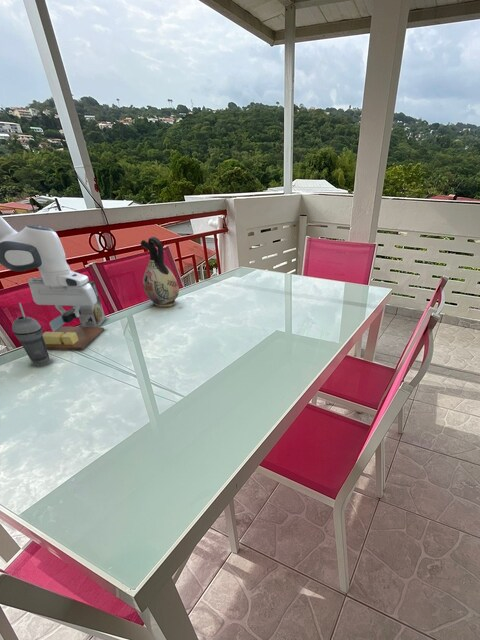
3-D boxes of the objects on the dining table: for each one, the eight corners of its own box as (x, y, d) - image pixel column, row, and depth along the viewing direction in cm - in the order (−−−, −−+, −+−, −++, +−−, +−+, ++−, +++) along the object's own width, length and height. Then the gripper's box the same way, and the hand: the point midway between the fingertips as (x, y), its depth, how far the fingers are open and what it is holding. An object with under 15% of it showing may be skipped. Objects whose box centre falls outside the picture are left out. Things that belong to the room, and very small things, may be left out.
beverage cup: (38, 357, 110) (12, 298, 99) (60, 358, 110) (36, 299, 99) (23, 367, 104) (-7, 306, 93) (46, 369, 104) (18, 307, 93)
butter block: (42, 344, 116) (39, 336, 114) (49, 339, 119) (45, 331, 117) (60, 344, 116) (57, 336, 115) (66, 339, 120) (63, 331, 118)
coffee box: (90, 319, 139) (77, 279, 130) (106, 319, 140) (95, 280, 131) (80, 327, 132) (66, 286, 123) (98, 327, 133) (85, 286, 123)
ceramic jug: (140, 304, 157) (124, 235, 140) (167, 297, 167) (156, 231, 150) (162, 313, 149) (149, 240, 132) (190, 304, 160) (180, 236, 143)
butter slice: (64, 344, 116) (61, 336, 115) (70, 339, 120) (67, 332, 118) (73, 344, 117) (70, 336, 115) (78, 339, 120) (75, 332, 118)
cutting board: (34, 349, 115) (33, 346, 114) (62, 329, 129) (61, 326, 129) (82, 350, 116) (81, 347, 115) (104, 330, 131) (103, 327, 130)
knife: (49, 331, 111) (45, 322, 109) (74, 313, 125) (71, 305, 123) (56, 331, 111) (53, 322, 110) (81, 313, 125) (78, 305, 124)
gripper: (20, 279, 110) (36, 319, 118) (84, 281, 112) (96, 320, 119) (31, 274, 115) (46, 312, 123) (92, 276, 117) (103, 314, 125)
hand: (71, 316), depth 121 cm, fingers closed on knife, 2 cm apart
